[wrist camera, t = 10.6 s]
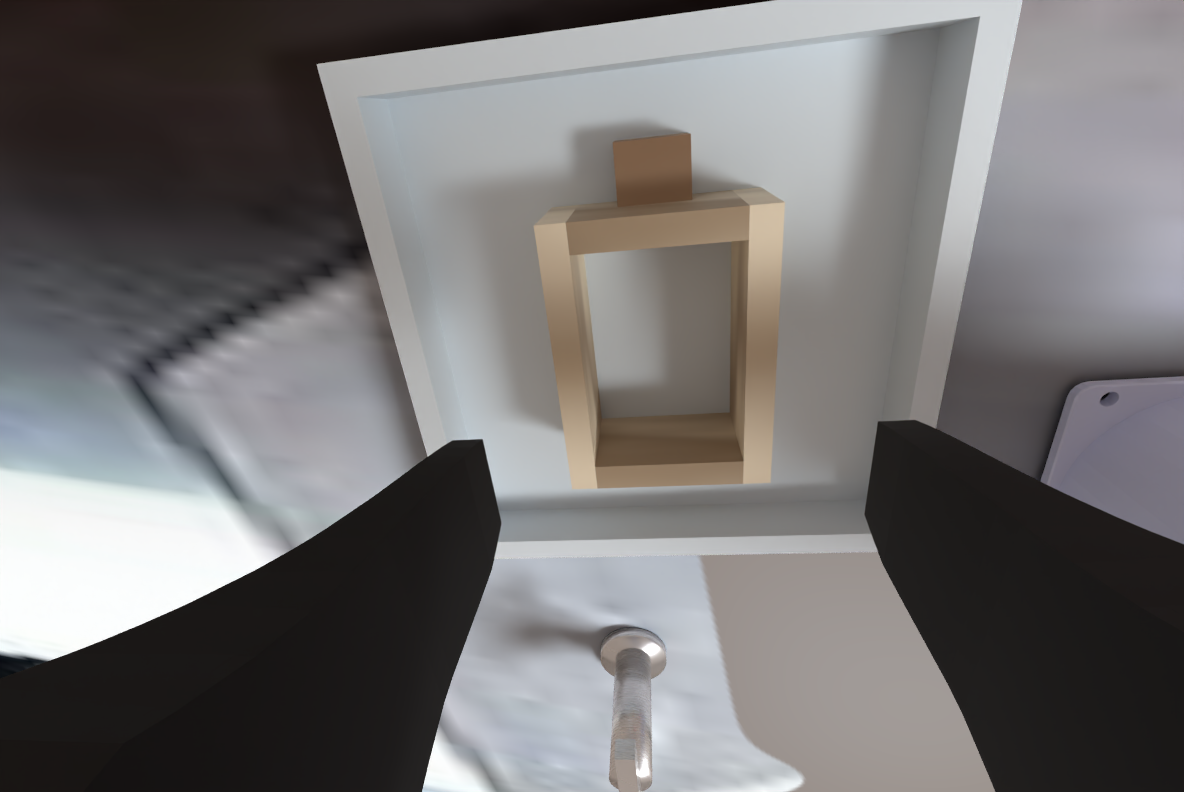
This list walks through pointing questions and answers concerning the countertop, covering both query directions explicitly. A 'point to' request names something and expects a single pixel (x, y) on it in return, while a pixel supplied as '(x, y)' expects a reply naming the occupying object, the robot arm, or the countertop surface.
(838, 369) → the tray
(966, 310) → the countertop surface
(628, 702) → the t head stake
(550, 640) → the countertop surface
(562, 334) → the wooden lantern frame
